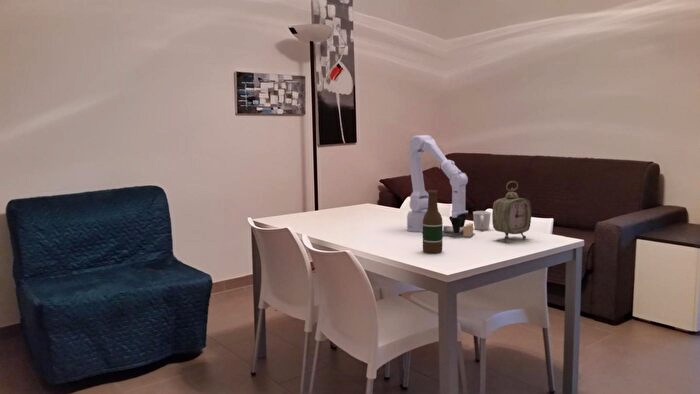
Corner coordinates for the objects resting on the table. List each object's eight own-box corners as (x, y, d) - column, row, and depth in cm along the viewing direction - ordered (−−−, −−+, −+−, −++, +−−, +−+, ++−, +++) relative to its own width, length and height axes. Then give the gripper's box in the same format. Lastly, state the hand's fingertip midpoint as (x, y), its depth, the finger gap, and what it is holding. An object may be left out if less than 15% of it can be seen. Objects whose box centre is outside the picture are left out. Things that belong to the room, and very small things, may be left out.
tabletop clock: (506, 244, 223) (507, 183, 220) (490, 240, 230) (490, 181, 227) (530, 239, 230) (532, 180, 227) (513, 236, 238) (514, 179, 235)
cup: (491, 232, 247) (491, 214, 246) (473, 231, 249) (473, 214, 248) (490, 227, 258) (490, 211, 257) (472, 227, 259) (472, 210, 258)
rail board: (427, 234, 244) (427, 223, 243) (433, 231, 251) (433, 220, 250) (470, 238, 236) (470, 226, 235) (474, 234, 243) (474, 223, 242)
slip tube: (443, 233, 243) (443, 226, 243) (445, 232, 246) (445, 225, 246) (467, 235, 239) (467, 227, 238) (469, 233, 241) (469, 226, 241)
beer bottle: (420, 249, 216) (420, 189, 213) (439, 249, 216) (440, 188, 213) (424, 254, 208) (424, 191, 205) (444, 253, 209) (445, 191, 206)
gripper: (463, 203, 232) (463, 234, 234) (471, 199, 245) (471, 228, 247) (447, 202, 235) (447, 233, 237) (456, 198, 248) (456, 227, 250)
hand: (458, 231), depth 242 cm, fingers open, 7 cm apart
